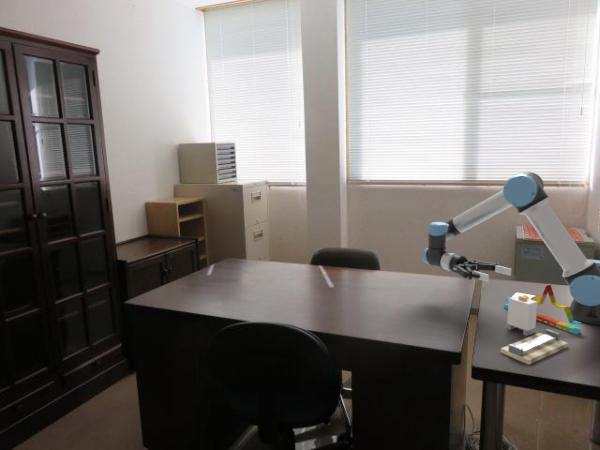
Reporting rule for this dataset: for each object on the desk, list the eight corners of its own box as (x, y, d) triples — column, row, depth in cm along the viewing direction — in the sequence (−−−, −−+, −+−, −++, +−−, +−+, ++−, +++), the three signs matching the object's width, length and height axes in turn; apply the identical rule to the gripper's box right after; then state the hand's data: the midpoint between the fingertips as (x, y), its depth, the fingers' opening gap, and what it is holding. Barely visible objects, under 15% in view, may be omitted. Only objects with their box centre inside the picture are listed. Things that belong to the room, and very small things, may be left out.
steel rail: (547, 335, 160) (547, 329, 159) (559, 339, 156) (560, 333, 156) (508, 351, 149) (508, 344, 148) (520, 356, 145) (521, 349, 145)
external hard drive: (508, 303, 197) (516, 295, 206) (528, 307, 192) (535, 298, 201) (508, 299, 197) (516, 291, 206) (528, 303, 191) (536, 295, 201)
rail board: (539, 336, 163) (539, 332, 162) (567, 346, 154) (567, 342, 154) (500, 352, 151) (500, 348, 151) (528, 364, 143) (529, 360, 143)
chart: (503, 308, 190) (505, 274, 188) (508, 307, 192) (510, 273, 189) (574, 335, 164) (578, 295, 161) (580, 333, 165) (583, 294, 162)
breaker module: (514, 325, 173) (517, 292, 170) (535, 332, 166) (537, 298, 163) (506, 328, 170) (508, 295, 168) (526, 336, 163) (529, 301, 161)
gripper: (473, 266, 198) (518, 279, 180) (433, 276, 185) (477, 290, 167) (474, 250, 196) (520, 260, 178) (434, 258, 184) (478, 271, 166)
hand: (499, 275), depth 173 cm, fingers open, 13 cm apart
